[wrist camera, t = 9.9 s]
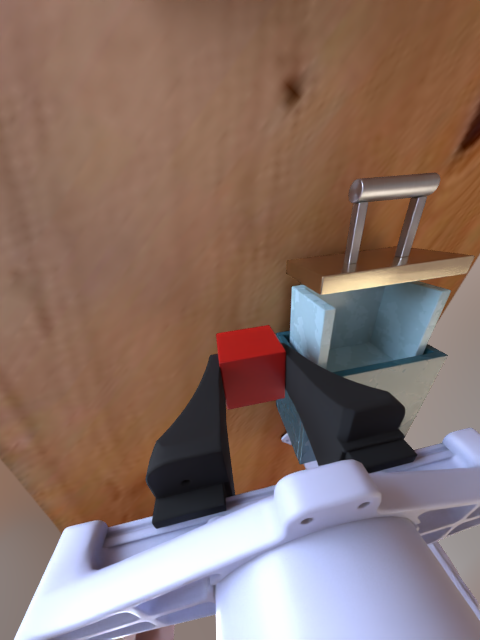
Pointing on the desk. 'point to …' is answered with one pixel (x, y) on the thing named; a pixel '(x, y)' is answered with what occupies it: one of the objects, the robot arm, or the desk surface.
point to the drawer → (372, 287)
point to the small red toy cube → (251, 366)
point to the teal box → (393, 376)
